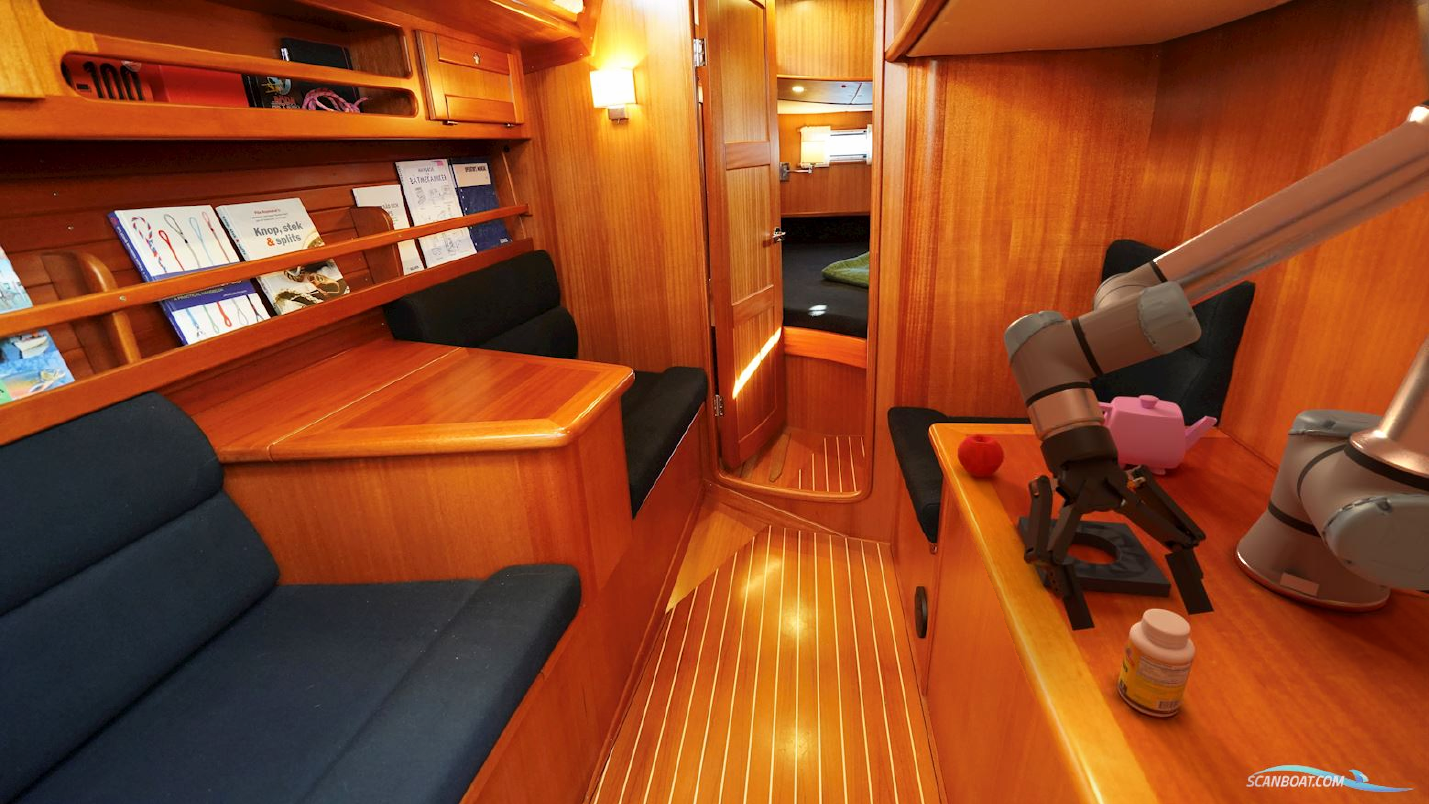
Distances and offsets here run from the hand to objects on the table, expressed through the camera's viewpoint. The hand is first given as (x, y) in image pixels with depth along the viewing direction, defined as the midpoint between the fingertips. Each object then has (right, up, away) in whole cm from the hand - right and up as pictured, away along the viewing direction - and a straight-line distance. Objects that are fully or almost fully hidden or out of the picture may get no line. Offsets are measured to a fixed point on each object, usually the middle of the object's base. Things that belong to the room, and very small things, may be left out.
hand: (1143, 621), depth 67 cm
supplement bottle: (+1, -9, +1) cm, 9 cm away
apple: (+3, +10, +49) cm, 51 cm away
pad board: (+8, +1, +24) cm, 25 cm away
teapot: (+33, +12, +51) cm, 62 cm away
